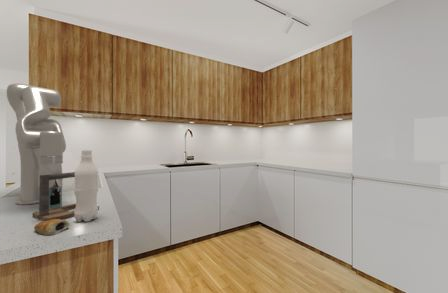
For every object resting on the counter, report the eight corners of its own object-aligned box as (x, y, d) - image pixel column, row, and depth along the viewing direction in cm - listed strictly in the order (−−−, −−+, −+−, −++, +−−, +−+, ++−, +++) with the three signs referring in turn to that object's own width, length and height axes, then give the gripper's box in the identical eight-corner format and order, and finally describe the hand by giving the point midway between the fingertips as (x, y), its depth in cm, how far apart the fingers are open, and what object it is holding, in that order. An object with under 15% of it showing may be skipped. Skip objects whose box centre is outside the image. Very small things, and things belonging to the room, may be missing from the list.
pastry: (26, 233, 63) (26, 221, 63) (49, 225, 70) (50, 214, 70) (50, 237, 61) (50, 224, 61) (72, 228, 68) (72, 216, 68)
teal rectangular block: (40, 209, 86) (40, 188, 86) (54, 206, 90) (54, 186, 90) (47, 211, 83) (47, 189, 83) (61, 208, 88) (61, 187, 88)
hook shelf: (32, 216, 77) (32, 173, 77) (81, 205, 92) (81, 169, 92) (49, 223, 71) (49, 176, 71) (98, 209, 86) (99, 171, 86)
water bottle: (86, 224, 70) (86, 151, 70) (68, 222, 72) (69, 150, 72) (102, 217, 78) (102, 150, 77) (86, 215, 79) (86, 150, 79)
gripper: (30, 160, 88) (30, 202, 88) (50, 161, 79) (50, 208, 79) (51, 159, 94) (51, 198, 94) (72, 160, 86) (72, 203, 86)
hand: (51, 202), depth 87 cm, fingers closed on teal rectangular block, 5 cm apart
